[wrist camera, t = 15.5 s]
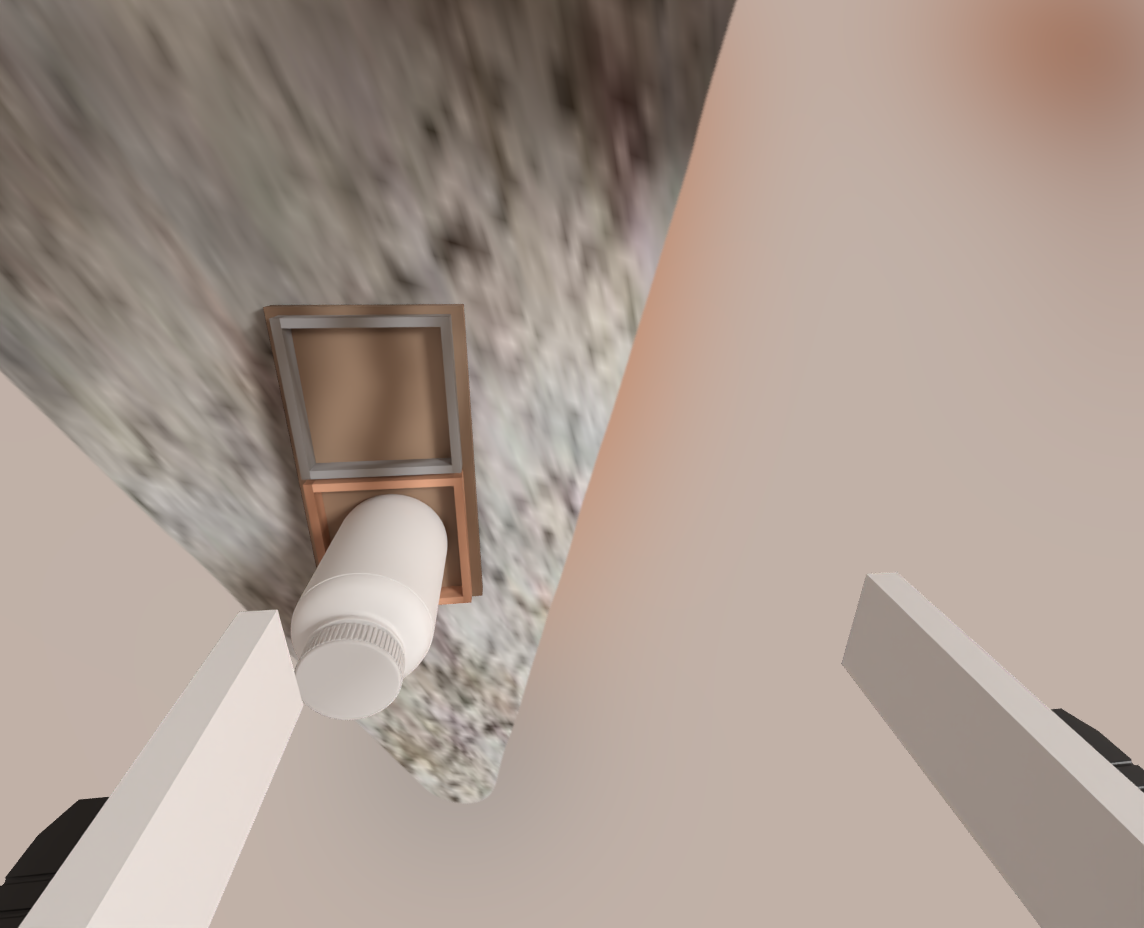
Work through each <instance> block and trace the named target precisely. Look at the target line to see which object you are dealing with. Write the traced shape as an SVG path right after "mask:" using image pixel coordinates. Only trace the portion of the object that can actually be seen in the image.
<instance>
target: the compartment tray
mask: <svg viewBox="0 0 1144 928" xmlns="http://www.w3.org/2000/svg"><path fill="white" fill-rule="evenodd" d="M263 309H264V314H265V319H266V324H267V328H268V333H269V338H270V343H271V348H272V353H273V358H274V363H275V367H276V372H277V377H278V382H279V387H280V392H281V397H282V402H283V406H284V411H285V416H286V421H287V426H288V431H289V436H290V441H291V445H292V450H293V455H294V460H295V465H296V470H297V475H298V480H299V484H300V489H301V494H302V499H303V504H304V509H305V514H306V519H307V523H308V528H309V533H310V538H311V543H312V548H313V553H314V557H315V562H316V567H318V565H319V563H320V562H321V560H322V558H323V556H324V555H325V553H326V551H327V549H328V547H329V546H330V544H331V542H332V540H333V539H334V537H335V535H336V533H337V531H338V530H339V528H340V526H341V524H342V522H343V521H344V519H345V518H346V517H347V515H348V514H349V513H350V512H351V511H352V510H353V509H354V508H355V507H356V506H357V505H359V504H360V503H362V502H363V501H365V500H367V499H370V498H372V497H375V496H379V495H386V494H399V495H405V496H409V497H412V498H415V499H417V500H419V501H421V502H423V503H425V504H426V505H428V506H429V507H430V508H431V509H432V510H434V512H435V513H436V514H437V515H438V516H439V518H440V519H441V521H442V523H443V525H444V527H445V530H446V534H447V555H446V561H445V567H444V573H443V579H442V586H441V592H440V598H439V604H438V605H442V604H456V603H469V602H471V600H472V596H481V595H482V591H483V585H482V570H481V555H480V540H479V525H478V510H477V495H476V480H475V465H474V450H473V435H472V420H471V405H470V390H469V375H468V360H467V345H466V330H465V315H464V304H416V305H270V306H266V307H263Z"/></svg>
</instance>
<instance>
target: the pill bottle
mask: <svg viewBox="0 0 1144 928" xmlns="http://www.w3.org/2000/svg"><path fill="white" fill-rule="evenodd" d="M446 555H447V534H446V530H445V527H444V525H443V523H442V521H441V519H440V518H439V516H438V515H437V514H436V513H435V512H434V510H432V509H431V508H430V507H429V506H428V505H426V504H425V503H423V502H421V501H419V500H417V499H415V498H412V497H409V496H405V495H399V494H386V495H379V496H375V497H372V498H370V499H367V500H365V501H363V502H362V503H360V504H359V505H357V506H356V507H355V508H354V509H353V510H352V511H351V512H350V513H349V514H348V515H347V517H346V518H345V519H344V521H343V522H342V524H341V526H340V528H339V530H338V531H337V533H336V535H335V537H334V539H333V540H332V542H331V544H330V546H329V547H328V549H327V551H326V553H325V555H324V556H323V558H322V560H321V562H320V563H319V565H318V567H317V569H316V571H315V572H314V574H313V576H312V578H311V580H310V581H309V583H308V585H307V587H306V588H305V590H304V592H303V594H302V596H301V597H300V599H299V601H298V603H297V605H296V607H295V610H294V612H293V615H292V620H291V640H292V645H293V648H294V651H295V653H296V655H297V657H298V659H299V660H298V663H297V665H296V668H295V671H294V673H295V677H296V680H297V684H298V688H299V691H300V695H301V699H302V701H303V702H304V703H305V704H306V705H307V706H308V707H309V708H310V709H312V710H313V711H315V712H317V713H319V714H321V715H323V716H326V717H330V718H334V719H340V720H356V719H362V718H366V717H369V716H372V715H374V714H377V713H379V712H380V711H382V710H383V709H385V708H386V707H387V706H389V705H390V704H391V703H392V702H393V701H394V699H395V698H396V696H397V695H398V694H399V692H400V688H401V686H402V681H403V678H404V677H406V676H407V675H408V674H410V673H411V672H412V671H413V670H414V669H415V668H416V667H417V666H418V665H419V664H420V663H421V661H422V660H423V658H424V657H425V655H426V654H427V652H428V650H429V648H430V646H431V643H432V639H433V635H434V629H435V623H436V616H437V610H438V604H439V598H440V592H441V586H442V579H443V573H444V567H445V561H446Z"/></svg>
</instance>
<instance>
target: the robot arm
mask: <svg viewBox="0 0 1144 928" xmlns="http://www.w3.org/2000/svg"><path fill="white" fill-rule="evenodd" d="M841 664H842V665H843V666H844V668H845V669H846V670H847V672H848V673H849V674H850V676H851V677H852V678H853V680H854V681H855V682H856V684H857V685H858V686H859V688H860V689H861V690H862V691H863V693H864V694H865V696H866V697H867V698H868V699H869V701H870V702H871V703H872V705H873V706H874V707H875V709H876V710H877V711H878V712H879V714H880V715H881V717H882V718H883V719H884V721H885V722H886V723H887V724H888V726H889V727H890V728H891V730H892V731H893V732H894V734H895V735H896V736H897V738H898V739H899V740H900V742H901V743H902V744H903V746H904V747H905V748H906V750H907V751H908V752H909V754H910V755H911V756H912V757H913V759H914V760H915V761H916V763H917V764H918V766H919V767H920V768H921V769H922V771H923V772H924V773H925V775H926V776H927V777H928V779H929V780H930V781H931V782H932V784H933V785H934V787H935V788H936V789H937V791H938V792H939V793H940V795H941V796H942V797H943V798H944V800H945V801H946V803H947V804H948V805H949V806H950V808H951V809H952V810H953V812H954V813H955V814H956V816H957V817H958V818H959V820H960V821H961V822H962V824H963V825H964V826H965V827H966V829H967V830H968V832H969V833H970V834H971V835H972V837H973V838H974V839H975V841H976V842H977V843H978V845H979V846H980V847H981V849H982V850H983V851H984V853H985V854H986V855H987V857H988V858H989V859H990V860H991V862H992V863H993V864H994V866H995V867H996V869H997V870H998V871H999V873H1000V874H1001V875H1002V876H1003V878H1004V879H1005V880H1006V882H1007V883H1008V884H1009V886H1010V887H1011V888H1012V890H1013V891H1014V892H1015V894H1016V895H1017V896H1018V898H1019V899H1020V900H1021V902H1022V903H1023V904H1024V906H1025V907H1026V908H1027V909H1028V911H1029V912H1030V913H1031V915H1032V916H1033V917H1034V919H1035V920H1036V921H1037V923H1038V924H1039V925H1040V927H1041V928H1144V770H1143V769H1142V768H1141V767H1140V766H1138V765H1133V763H1132V762H1131V759H1130V758H1129V757H1128V756H1127V755H1126V754H1124V753H1123V752H1122V751H1121V750H1120V749H1119V748H1117V747H1116V746H1115V745H1114V744H1113V743H1112V742H1110V741H1109V740H1108V739H1107V738H1106V737H1105V736H1103V735H1102V734H1101V733H1100V732H1099V731H1097V730H1096V729H1094V728H1092V727H1091V726H1089V725H1087V724H1085V723H1084V722H1082V721H1080V720H1079V719H1077V718H1076V717H1074V716H1072V715H1071V714H1069V713H1067V712H1066V711H1064V710H1063V709H1049V708H1048V707H1047V706H1046V705H1045V704H1044V703H1043V702H1042V701H1041V700H1039V699H1038V698H1037V697H1036V696H1035V695H1034V694H1033V693H1032V692H1030V691H1029V690H1028V689H1027V688H1026V687H1025V686H1024V685H1023V684H1021V683H1020V682H1019V681H1018V680H1017V679H1016V678H1015V677H1014V676H1013V675H1011V674H1010V673H1009V672H1008V671H1007V670H1006V669H1005V668H1004V667H1003V666H1001V665H1000V664H999V663H998V662H997V661H996V660H994V658H992V657H991V656H990V655H989V654H988V653H987V652H986V651H985V650H983V649H982V648H981V647H980V646H979V645H978V644H977V643H976V642H975V641H973V640H972V639H971V638H970V637H969V636H968V635H967V634H966V633H964V632H963V631H962V630H961V629H960V628H959V627H958V626H957V625H956V624H955V623H953V622H952V621H951V620H950V619H949V618H948V617H947V616H946V615H944V614H943V613H942V612H941V611H940V610H939V609H938V608H937V607H936V606H934V605H933V604H932V603H931V602H930V601H929V600H928V599H926V598H925V597H924V596H923V595H922V594H921V593H920V592H919V591H918V590H916V589H915V588H914V587H913V586H912V585H911V584H910V583H909V582H907V581H906V580H905V579H904V578H903V577H902V576H901V575H900V574H899V573H897V572H889V573H873V574H866V578H865V581H864V585H863V588H862V592H861V596H860V599H859V603H858V606H857V610H856V613H855V617H854V621H853V624H852V628H851V632H850V635H849V639H848V642H847V646H846V649H845V653H844V657H843V660H842V663H841ZM302 708H303V703H302V699H301V695H300V691H299V688H298V684H297V680H296V677H295V673H294V669H293V666H292V662H291V658H290V654H289V651H288V647H287V643H286V639H285V636H284V632H283V628H282V624H281V621H280V617H279V613H278V610H261V611H245V612H239V613H238V614H237V615H236V617H235V618H234V619H233V621H232V622H231V624H230V625H229V627H228V628H227V629H226V631H225V633H224V634H223V635H222V637H221V638H220V639H219V641H218V643H217V644H216V645H215V647H214V648H213V650H212V651H211V652H210V654H209V655H208V657H207V658H206V660H205V661H204V663H203V664H202V665H201V667H200V668H199V670H198V671H197V672H196V674H195V675H194V677H193V678H192V680H191V681H190V683H189V684H188V685H187V687H186V688H185V690H184V691H183V693H182V694H181V695H180V697H179V698H178V700H177V701H176V702H175V704H174V705H173V707H172V708H171V710H170V711H169V713H168V714H167V715H166V717H165V718H164V720H163V721H162V723H161V724H160V726H159V727H158V728H157V730H156V731H155V733H154V734H153V735H152V737H151V738H150V740H149V741H148V743H147V744H146V745H145V747H144V748H143V750H142V751H141V753H140V754H139V756H138V757H137V758H136V760H135V761H134V763H133V764H132V766H131V767H130V769H129V770H128V771H127V773H126V774H125V776H124V777H123V778H122V780H121V781H120V783H119V784H118V786H117V787H116V788H115V790H114V791H113V793H112V794H111V796H110V797H103V798H92V799H81V800H78V801H77V802H76V803H75V804H73V805H72V806H71V807H70V808H69V809H68V810H67V811H65V812H64V813H63V814H62V815H61V816H60V817H59V818H57V819H56V820H55V821H54V822H53V823H52V824H50V825H49V826H48V827H47V828H46V829H45V830H44V831H42V832H41V833H40V834H39V835H38V836H37V837H36V838H35V840H34V841H33V843H32V844H31V845H30V846H29V848H28V849H27V850H26V851H25V853H24V854H23V855H22V857H21V858H20V859H19V860H18V862H17V863H16V865H15V866H14V867H13V868H12V870H11V871H10V872H9V873H8V875H7V876H6V880H5V883H4V884H3V885H2V886H0V928H208V927H209V925H210V923H211V920H212V918H213V915H214V913H215V911H216V908H217V906H218V904H219V902H220V899H221V897H222V894H223V892H224V890H225V888H226V885H227V883H228V880H229V878H230V876H231V873H232V871H233V869H234V866H235V864H236V862H237V859H238V857H239V855H240V852H241V850H242V848H243V845H244V843H245V841H246V838H247V836H248V834H249V831H250V829H251V827H252V824H253V822H254V820H255V817H256V815H257V813H258V810H259V808H260V806H261V803H262V801H263V798H264V796H265V794H266V792H267V789H268V787H269V785H270V782H271V780H272V778H273V775H274V773H275V771H276V768H277V766H278V764H279V761H280V759H281V756H282V754H283V752H284V749H285V747H286V745H287V743H288V740H289V738H290V735H291V733H292V731H293V729H294V726H295V724H296V721H297V719H298V717H299V715H300V712H301V710H302Z"/></svg>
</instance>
